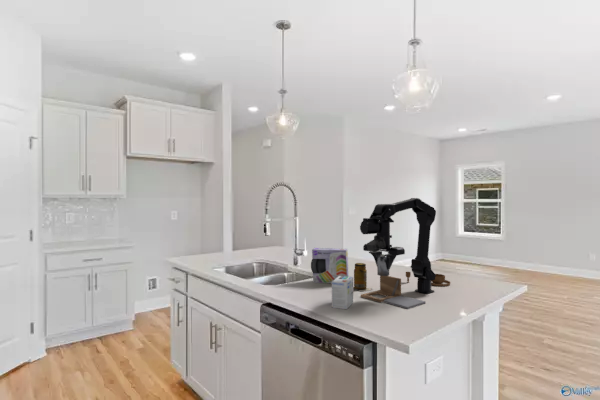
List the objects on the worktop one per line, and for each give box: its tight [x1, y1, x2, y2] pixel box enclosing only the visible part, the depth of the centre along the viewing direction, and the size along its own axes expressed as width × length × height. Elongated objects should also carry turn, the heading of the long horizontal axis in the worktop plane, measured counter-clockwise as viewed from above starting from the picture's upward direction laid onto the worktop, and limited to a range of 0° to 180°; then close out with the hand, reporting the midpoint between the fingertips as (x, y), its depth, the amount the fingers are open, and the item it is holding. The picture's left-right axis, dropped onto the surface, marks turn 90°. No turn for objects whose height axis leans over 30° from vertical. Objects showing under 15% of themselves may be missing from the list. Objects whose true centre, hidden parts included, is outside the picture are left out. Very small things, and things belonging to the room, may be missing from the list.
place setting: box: [405, 271, 451, 287], centre depth 187 cm, size 18×20×6 cm
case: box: [360, 275, 402, 303], centre depth 161 cm, size 14×11×8 cm
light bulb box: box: [331, 276, 354, 310], centre depth 149 cm, size 11×7×11 cm, turn 159°
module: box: [376, 253, 390, 277], centre depth 158 cm, size 5×5×9 cm
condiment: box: [353, 262, 373, 292], centre depth 175 cm, size 7×8×12 cm
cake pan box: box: [310, 247, 350, 284], centre depth 188 cm, size 19×5×18 cm, turn 71°
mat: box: [383, 294, 426, 310], centre depth 152 cm, size 12×12×1 cm
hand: (383, 268), depth 158 cm, fingers closed on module, 5 cm apart
